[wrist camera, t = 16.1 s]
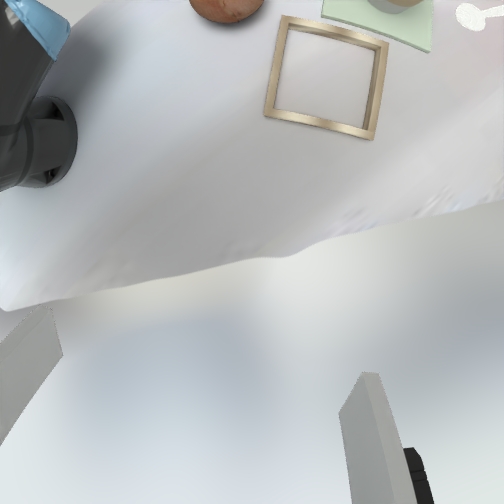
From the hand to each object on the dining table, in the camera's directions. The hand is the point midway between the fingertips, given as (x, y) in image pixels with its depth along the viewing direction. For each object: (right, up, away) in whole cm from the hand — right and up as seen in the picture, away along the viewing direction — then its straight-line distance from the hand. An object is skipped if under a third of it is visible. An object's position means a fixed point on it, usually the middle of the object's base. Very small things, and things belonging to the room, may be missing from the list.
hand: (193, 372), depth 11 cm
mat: (+20, +41, +16) cm, 48 cm away
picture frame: (+12, +27, +22) cm, 37 cm away
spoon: (+41, +45, +14) cm, 62 cm away
